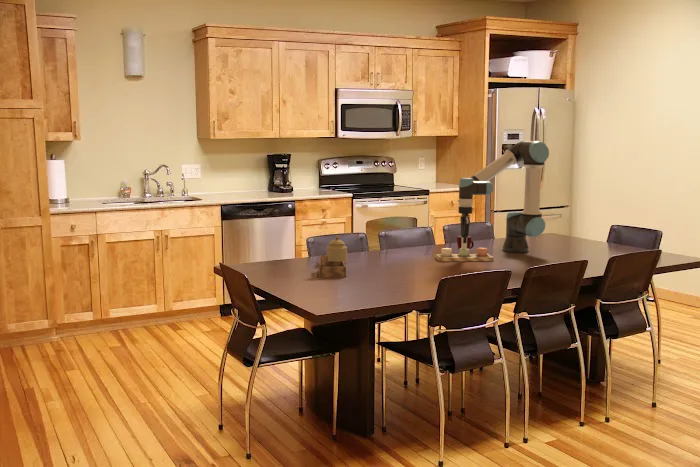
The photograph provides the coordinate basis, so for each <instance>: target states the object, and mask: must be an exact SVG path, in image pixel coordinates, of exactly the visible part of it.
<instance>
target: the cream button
mask: <svg viewBox="0 0 700 467" xmlns="http://www.w3.org/2000/svg"><path fill="white" fill-rule="evenodd" d="M452 252H453V251H452V248H451V247H450V248H449V247H444V248H443V247H442V248H441V253H440V254H441V256H443V257H451V255H452V254H453V253H452Z"/></svg>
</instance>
